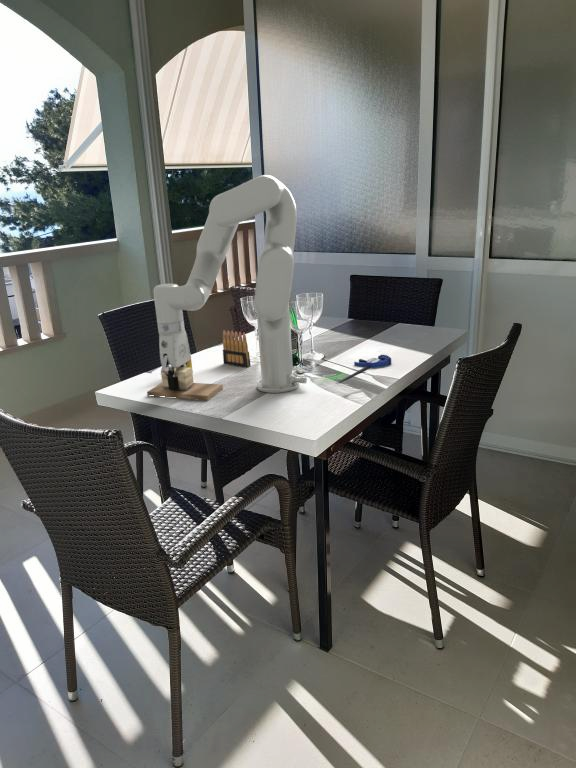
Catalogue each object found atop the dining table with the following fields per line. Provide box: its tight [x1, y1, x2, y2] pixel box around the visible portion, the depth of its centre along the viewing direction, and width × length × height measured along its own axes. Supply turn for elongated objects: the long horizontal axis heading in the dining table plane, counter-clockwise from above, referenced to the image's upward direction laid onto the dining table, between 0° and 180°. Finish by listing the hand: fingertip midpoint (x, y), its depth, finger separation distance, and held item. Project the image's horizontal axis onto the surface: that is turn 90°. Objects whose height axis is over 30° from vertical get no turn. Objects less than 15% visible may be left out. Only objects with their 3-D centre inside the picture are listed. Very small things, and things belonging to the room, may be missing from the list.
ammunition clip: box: [222, 329, 252, 369], centre depth 204 cm, size 11×2×12 cm, turn 54°
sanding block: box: [160, 367, 195, 390], centre depth 181 cm, size 8×4×6 cm, turn 71°
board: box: [146, 382, 224, 401], centre depth 182 cm, size 20×10×2 cm, turn 71°
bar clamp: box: [335, 354, 392, 385], centre depth 190 cm, size 32×2×10 cm
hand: (178, 385), depth 182 cm, fingers closed on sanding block, 4 cm apart
